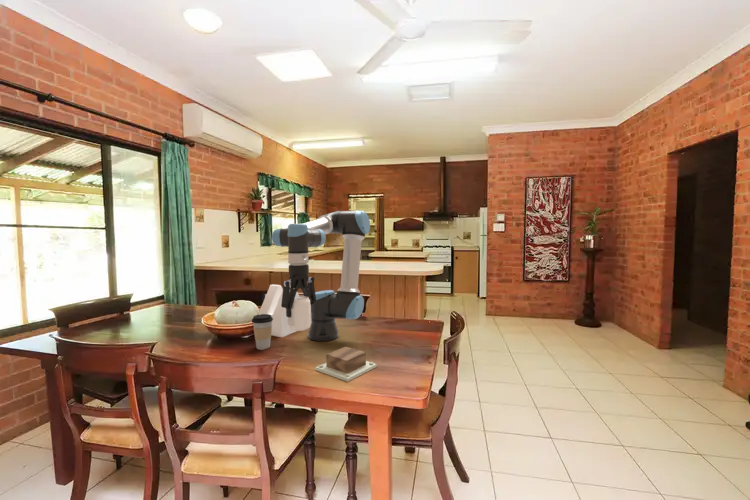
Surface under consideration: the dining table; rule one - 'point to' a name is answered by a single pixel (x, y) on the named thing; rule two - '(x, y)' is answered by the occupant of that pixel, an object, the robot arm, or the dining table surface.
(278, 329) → the white notched block
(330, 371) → the baseplate
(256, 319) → the coffee cup
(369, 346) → the dining table surface
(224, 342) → the dining table surface
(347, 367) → the walnut brick
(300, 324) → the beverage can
